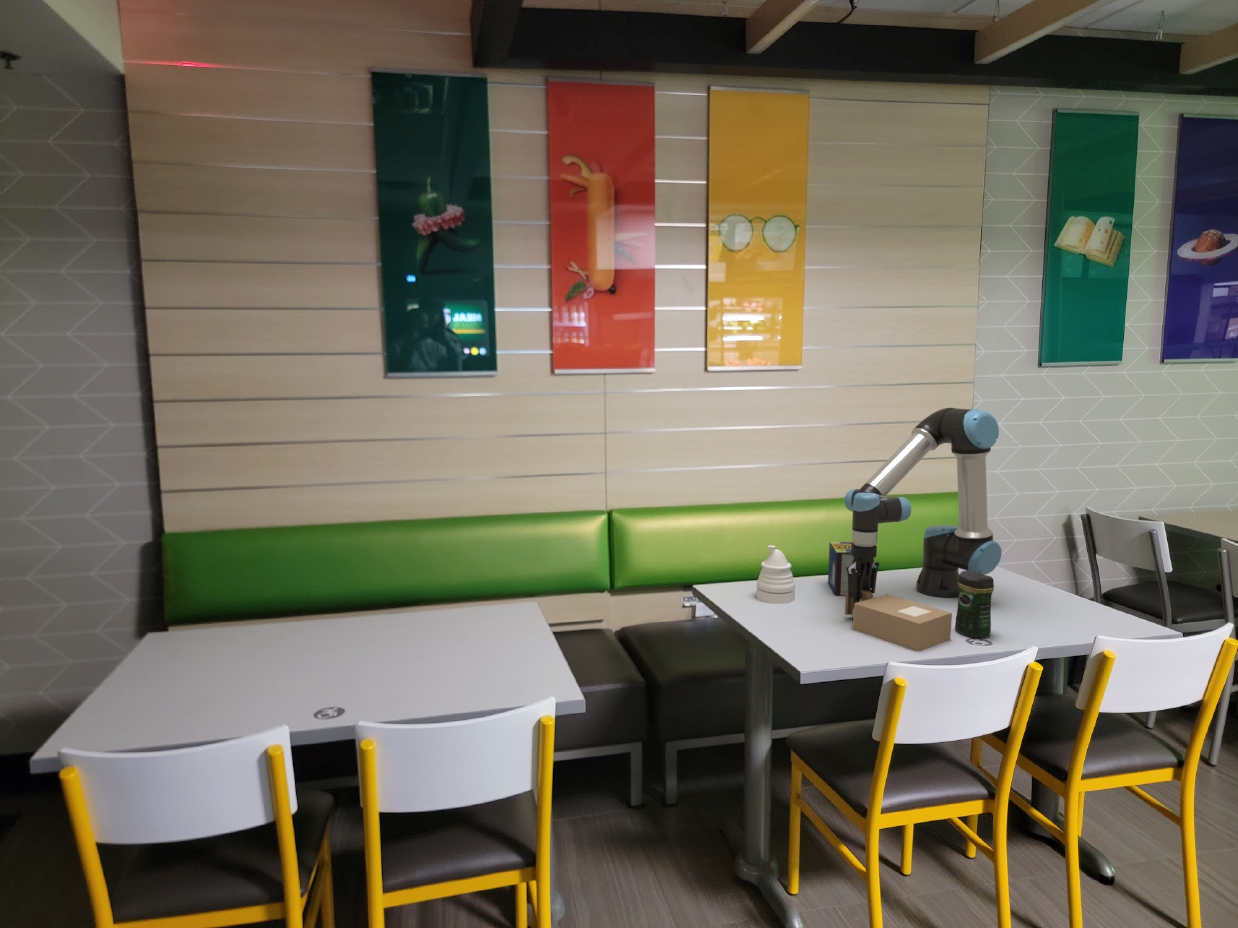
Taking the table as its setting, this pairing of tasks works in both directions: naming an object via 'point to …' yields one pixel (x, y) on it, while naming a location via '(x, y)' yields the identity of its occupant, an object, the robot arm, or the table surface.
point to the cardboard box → (902, 621)
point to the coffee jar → (974, 604)
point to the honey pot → (775, 579)
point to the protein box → (839, 566)
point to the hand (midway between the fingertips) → (860, 617)
